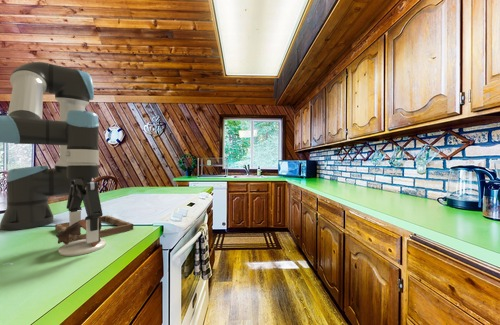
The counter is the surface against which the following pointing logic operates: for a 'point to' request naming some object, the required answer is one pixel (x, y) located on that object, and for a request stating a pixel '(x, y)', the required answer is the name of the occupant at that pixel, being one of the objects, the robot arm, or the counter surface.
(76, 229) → the brown hollow round piece
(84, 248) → the white dome
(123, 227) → the walnut frame
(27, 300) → the counter surface
